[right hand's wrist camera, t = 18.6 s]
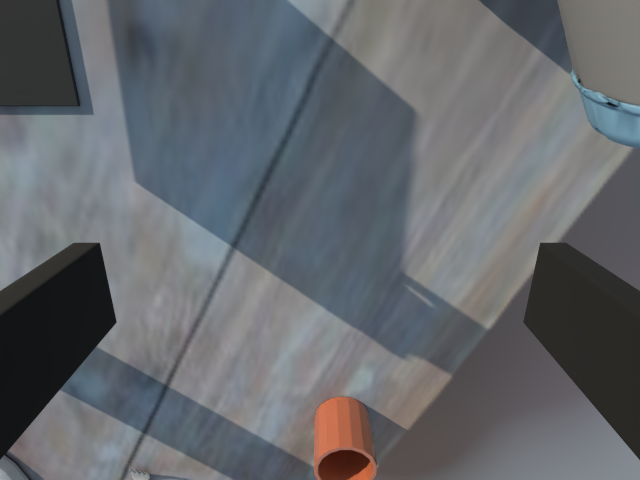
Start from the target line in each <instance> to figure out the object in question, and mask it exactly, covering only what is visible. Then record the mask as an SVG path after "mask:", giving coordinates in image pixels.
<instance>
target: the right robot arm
mask: <svg viewBox="0 0 640 480" xmlns="http://www.w3.org/2000/svg"><path fill="white" fill-rule="evenodd" d="M557 2H558V6H559V11H560V15H561V19H562V24H563V28H564V33H565V37H566V41H567V46H568V50H569V55H570V59H571V63H572V70H571V77H572V81H573V83H574V85H575V86H576V87H577V88H578V89H579V91H580V95H581V98H582V101H583V105H584V108H585V111H586V115H587V118H588V120H589V122H590V124H591V126H592V127H593V128H594V129H595V130H596V131H597V132H599V133H601V134H603V135H604V136H606V137H607V138H608V139H609V140H611V141H614V142H616V143H619V144H623V145H626V146H630V147H635V148H640V0H557ZM524 323H525V325H526V326H527V327H528V328H529V329H530V331H531V332H532V333H533V334H534V335H535V336H536V338H537V339H538V340H539V341H540V342H541V344H542V345H543V346H544V347H545V348H546V349H547V351H548V352H549V353H550V354H551V355H552V357H553V358H554V359H555V360H556V361H557V363H558V364H559V365H560V366H561V367H562V368H563V370H564V371H565V372H566V373H567V374H568V376H569V377H570V378H571V379H572V380H573V381H574V383H575V384H576V385H577V386H578V387H579V389H580V390H581V391H582V392H583V393H584V394H585V396H586V397H587V398H588V399H589V400H590V402H591V403H592V404H593V405H594V406H595V407H596V409H597V410H598V411H599V412H600V413H601V415H602V416H603V417H604V418H605V419H606V420H607V422H608V423H609V424H610V425H611V426H612V428H613V429H614V430H615V431H616V432H617V433H618V435H619V436H620V437H621V438H622V439H623V441H624V442H625V443H626V444H627V445H628V446H629V448H630V449H631V450H632V451H633V452H634V454H635V455H636V456H637V457H638V458H639V459H640V291H639V290H637V289H636V288H634V287H633V286H631V285H629V284H628V283H626V282H625V281H623V280H622V279H620V278H619V277H617V276H616V275H614V274H613V273H611V272H610V271H608V270H607V269H605V268H604V267H602V266H601V265H599V264H598V263H596V262H594V261H593V260H591V259H590V258H588V257H587V256H585V255H584V254H582V253H581V252H579V251H578V250H576V249H575V248H573V247H572V246H570V245H568V244H567V243H540V247H539V251H538V256H537V261H536V266H535V270H534V275H533V280H532V285H531V289H530V294H529V299H528V303H527V308H526V313H525V317H524ZM115 324H116V317H115V313H114V308H113V303H112V299H111V294H110V289H109V284H108V280H107V275H106V270H105V266H104V261H103V256H102V251H101V247H100V243H73V244H71V245H70V246H68V247H67V248H65V249H64V250H62V251H61V252H59V253H58V254H56V255H55V256H53V257H52V258H50V259H49V260H47V261H46V262H44V263H42V264H41V265H39V266H38V267H36V268H35V269H33V270H32V271H30V272H29V273H27V274H26V275H24V276H23V277H21V278H20V279H18V280H17V281H15V282H13V283H12V284H10V285H9V286H7V287H6V288H4V289H3V290H1V291H0V459H1V458H2V457H3V456H4V455H5V454H6V452H7V451H8V450H9V449H10V448H11V446H12V445H13V444H14V443H15V442H16V441H17V439H18V438H19V437H20V436H21V435H22V433H23V432H24V431H25V430H26V429H27V428H28V426H29V425H30V424H31V423H32V422H33V420H34V419H35V418H36V417H37V416H38V415H39V413H40V412H41V411H42V410H43V409H44V407H45V406H46V405H47V404H48V403H49V402H50V400H51V399H52V398H53V397H54V396H55V394H56V393H57V392H58V391H59V390H60V389H61V387H62V386H63V385H64V384H65V383H66V381H67V380H68V379H69V378H70V377H71V376H72V374H73V373H74V372H75V371H76V370H77V368H78V367H79V366H80V365H81V364H82V363H83V361H84V360H85V359H86V358H87V357H88V355H89V354H90V353H91V352H92V351H93V350H94V348H95V347H96V346H97V345H98V344H99V342H100V341H101V340H102V339H103V338H104V337H105V335H106V334H107V333H108V332H109V331H110V329H111V328H112V327H113V326H114V325H115Z"/></svg>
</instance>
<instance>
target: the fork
mask: <svg viewBox="0 0 640 480" xmlns="http://www.w3.org/2000/svg"><path fill="white" fill-rule="evenodd" d="M129 470H130V471H131V472H132V477H133V479H134V480H149V479H150V475H149V473H148V472H146V471H145V473H146V474H145V473H143V472H142V471H140V472H141V473H139V472H138V471H137V470H135V472H134V471H133V470H132V469H129Z"/></svg>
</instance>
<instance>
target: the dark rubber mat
mask: <svg viewBox="0 0 640 480" xmlns="http://www.w3.org/2000/svg"><path fill="white" fill-rule="evenodd" d="M0 106H80V103H79V98H78V93H77V88H76V83H75V79H74V74H73V69H72V64H71V59H70V54H69V49H68V44H67V39H66V34H65V30H64V25H63V20H62V15H61V10H60V5H59V0H0Z"/></svg>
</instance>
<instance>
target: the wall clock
mask: <svg viewBox="0 0 640 480" xmlns="http://www.w3.org/2000/svg"><path fill="white" fill-rule="evenodd" d="M0 480H29V479H28V478H27V477H26V475H25V474H24V473H23V472H22V471H21V469H20V468H19V467H18V466H17V465H16V464H15V463H14V462H13V461H11V460H10V459H9V458H8V457H6V456H5V455H4V456H3V457H2V458H1V459H0Z"/></svg>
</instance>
